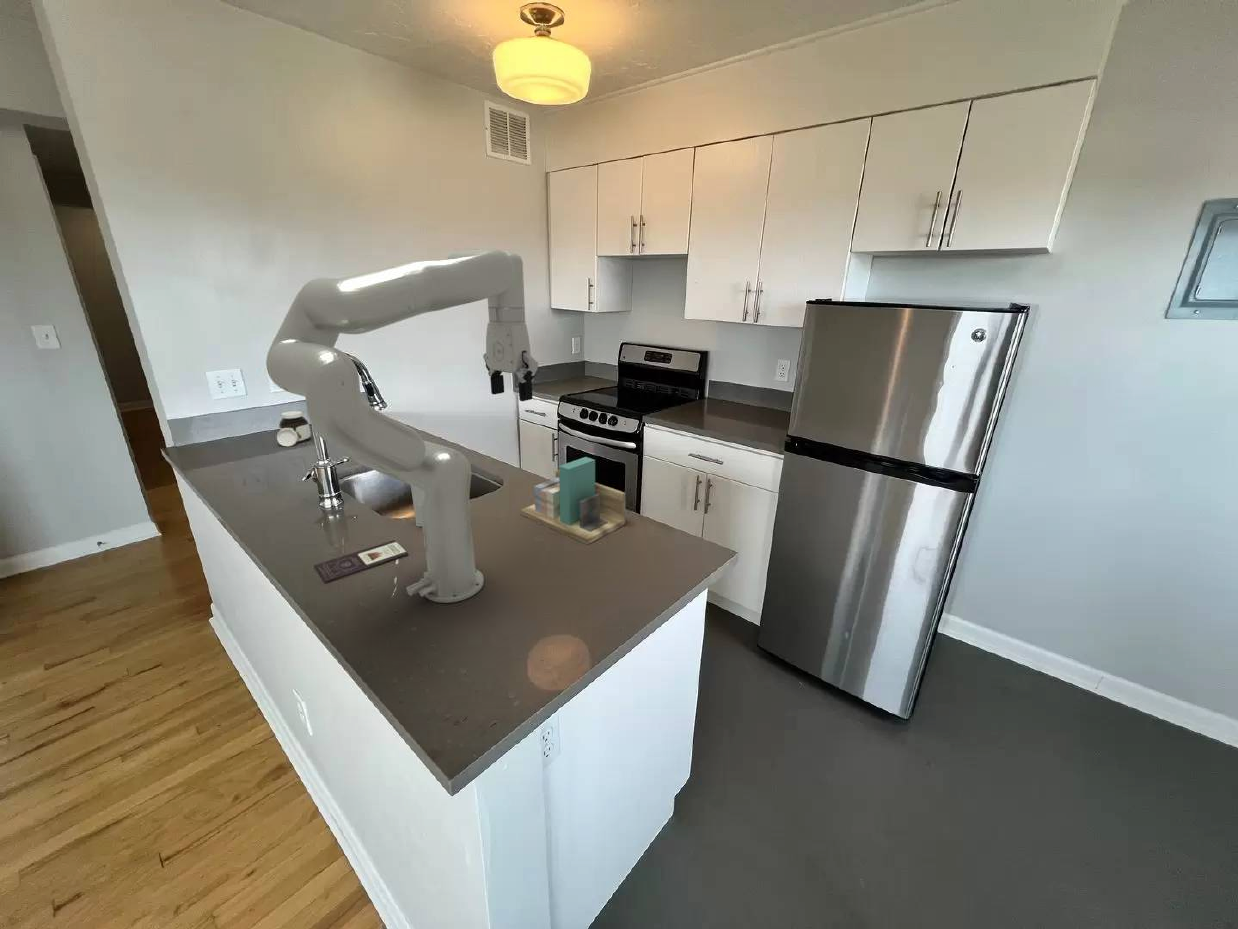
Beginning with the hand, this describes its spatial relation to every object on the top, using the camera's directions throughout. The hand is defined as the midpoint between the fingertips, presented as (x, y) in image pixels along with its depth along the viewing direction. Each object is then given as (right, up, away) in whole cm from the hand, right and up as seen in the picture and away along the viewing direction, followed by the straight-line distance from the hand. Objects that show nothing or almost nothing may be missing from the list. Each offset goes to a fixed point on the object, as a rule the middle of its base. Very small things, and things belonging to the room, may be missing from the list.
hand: (511, 396), depth 111 cm
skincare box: (-27, -31, +27) cm, 49 cm away
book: (+13, -30, +27) cm, 42 cm away
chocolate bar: (-36, -38, +7) cm, 53 cm away
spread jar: (-106, -7, +89) cm, 139 cm away
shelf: (+11, -30, +29) cm, 43 cm away
